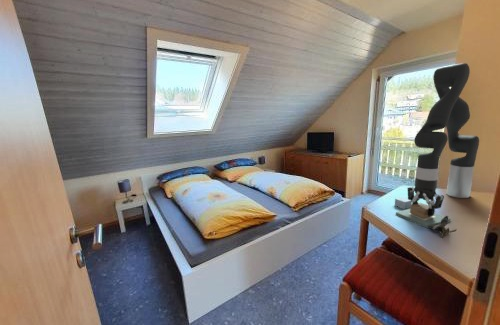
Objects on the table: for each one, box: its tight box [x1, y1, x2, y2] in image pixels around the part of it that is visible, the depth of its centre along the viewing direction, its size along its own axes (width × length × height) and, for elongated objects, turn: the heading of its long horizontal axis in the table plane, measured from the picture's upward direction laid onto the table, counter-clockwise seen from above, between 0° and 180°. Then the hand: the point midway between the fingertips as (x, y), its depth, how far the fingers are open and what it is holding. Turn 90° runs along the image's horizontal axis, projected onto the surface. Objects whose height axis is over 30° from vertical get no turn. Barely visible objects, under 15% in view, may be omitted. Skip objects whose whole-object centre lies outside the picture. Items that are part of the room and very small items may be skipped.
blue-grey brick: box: [394, 196, 412, 210], centre depth 110 cm, size 5×5×4 cm
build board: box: [395, 208, 451, 229], centre depth 98 cm, size 14×14×1 cm
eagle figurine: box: [429, 215, 457, 239], centre depth 85 cm, size 8×7×9 cm
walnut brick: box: [409, 202, 431, 218], centre depth 97 cm, size 6×6×4 cm
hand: (422, 212), depth 98 cm, fingers closed on walnut brick, 6 cm apart
